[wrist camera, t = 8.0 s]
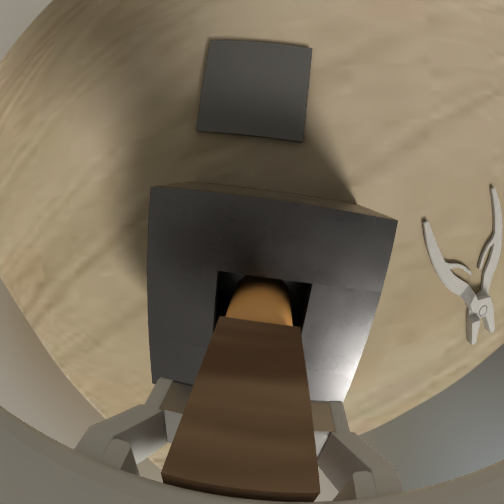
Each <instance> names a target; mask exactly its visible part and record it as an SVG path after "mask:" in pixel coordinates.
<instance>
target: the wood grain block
mask: <svg viewBox="0 0 504 504" xmlns="http://www.w3.org/2000/svg"><path fill="white" fill-rule="evenodd" d="M161 475H162V479H163V483H165V484H168V485H172V486H176V487H180V488H185V489H189V490H194V491H199V492H204V493H209V494H215V495H221V496H228V497H235V498H243V499H252V500H264V501H281V502H314V500H315V499H316V498H317V496H318V495H319V493H320V484H319V473H318V463H317V454H316V444H315V435H314V426H313V418H312V410H311V402H310V394H309V386H308V379H307V371H306V364H305V357H304V350H303V343H302V336H301V329H300V327H297V326H288V325H280V324H272V323H264V322H257V321H250V320H243V319H236V318H229V317H223V316H220V317H219V319H218V322H217V324H216V327H215V330H214V332H213V335H212V338H211V340H210V343H209V346H208V348H207V351H206V353H205V356H204V359H203V361H202V364H201V367H200V369H199V372H198V375H197V377H196V380H195V383H194V385H193V388H192V391H191V393H190V396H189V399H188V401H187V404H186V407H185V409H184V412H183V415H182V417H181V420H180V423H179V426H178V428H177V431H176V434H175V436H174V439H173V442H172V444H171V447H170V450H169V453H168V455H167V458H166V461H165V463H164V466H163V469H162V472H161Z"/></svg>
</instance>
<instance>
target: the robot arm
mask: <svg viewBox="0 0 504 504" xmlns="http://www.w3.org/2000/svg"><path fill="white" fill-rule="evenodd" d="M192 388H193V384H188V383H184V382H180V381H176V380H171V379H167V378H163V377H160V378H159V379H158V380H157V382H156V384H155V386H154V388H153V390H152V391H151V393H150V395H149V397H148V399H147V401H146V403H145V404H144V405H142V404H139V405H137V406H135V407H133V408H131V409H129V410H126V411H124V412H122V413H120V414H118V415H115V416H113V417H111V418H108V419H106V420H104V421H102V422H100V423H97V424H94V425H92V426H90V427H89V428H88V430H87V431H86V432H85V434H84V436H83V437H82V438H81V440H80V442H79V443H78V445H77V446H76V448H75V449H72V448H70V447H67V446H66V445H64V444H61V443H60V442H58V441H56V440H54V439H52V438H50V437H48V436H47V435H45V434H43V433H42V432H40V431H38V430H36V429H35V428H33V427H31V426H30V425H28V424H27V423H25V422H23V421H22V420H20V419H19V418H17V417H16V416H14V415H13V414H11V413H10V412H8V411H7V410H5V409H4V408H3V407H1V406H0V504H504V460H502V461H500V462H497V463H495V464H493V465H491V466H488V467H486V468H483V469H481V470H478V471H475V472H473V473H470V474H467V475H464V476H461V477H459V478H456V479H452V480H449V481H446V482H442V483H439V484H435V485H432V486H428V487H424V488H420V489H416V490H411V491H406V492H403V489H402V486H401V483H400V480H399V476H398V473H397V470H396V467H395V466H394V465H393V464H391V463H390V462H389V461H388V460H387V459H385V458H384V457H383V456H381V455H380V454H379V453H378V452H377V451H376V450H374V449H373V448H372V447H371V446H369V445H368V444H367V443H366V442H365V441H364V440H362V439H361V438H360V437H359V436H358V435H357V434H355V433H354V432H350V430H349V426H348V422H347V418H346V414H345V410H344V406H343V403H342V401H319V400H310V402H311V410H312V418H313V426H314V435H315V444H316V454H317V463H318V466H319V467H320V469H321V470H322V471H323V472H324V474H325V475H326V476H327V478H328V479H329V480H330V481H331V483H332V484H333V485H334V486H335V487H336V489H337V490H338V491H339V493H338V495H337V496H336V497H335V498H334V500H333V501H327V502H281V501H264V500H252V499H243V498H235V497H228V496H221V495H215V494H209V493H204V492H199V491H194V490H189V489H185V488H180V487H176V486H172V485H168V484H165V483H161V482H157V481H154V480H150V479H147V478H144V477H141V476H140V474H139V471H138V468H137V464H138V463H139V462H141V461H142V460H144V459H145V458H147V457H148V456H150V455H151V454H153V453H154V452H155V451H157V450H158V449H160V448H161V447H162V446H164V445H165V444H167V442H169V443H172V442H173V439H174V436H175V434H176V431H177V428H178V426H179V423H180V420H181V417H182V415H183V412H184V409H185V407H186V404H187V401H188V399H189V396H190V393H191V391H192Z"/></svg>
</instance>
